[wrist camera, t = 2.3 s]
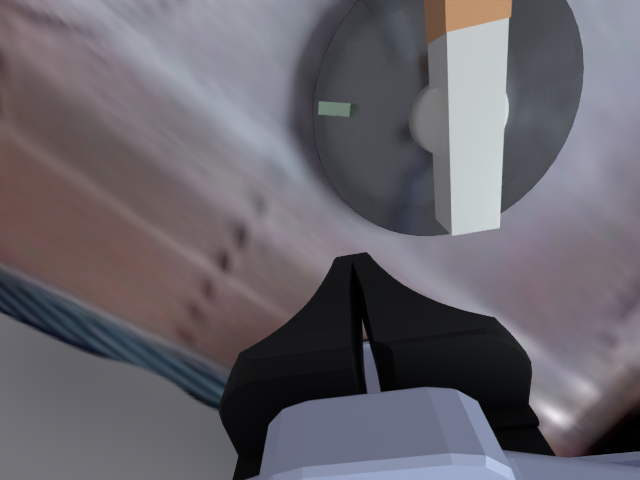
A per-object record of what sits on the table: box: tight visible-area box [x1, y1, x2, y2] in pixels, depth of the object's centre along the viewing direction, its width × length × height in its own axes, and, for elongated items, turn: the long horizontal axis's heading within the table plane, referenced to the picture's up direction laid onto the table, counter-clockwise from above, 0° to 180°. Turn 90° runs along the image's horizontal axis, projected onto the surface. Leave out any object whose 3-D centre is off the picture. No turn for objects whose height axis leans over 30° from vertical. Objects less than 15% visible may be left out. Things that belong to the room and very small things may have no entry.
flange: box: [313, 0, 584, 236], centre depth 18 cm, size 15×15×2 cm
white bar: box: [408, 0, 512, 236], centre depth 15 cm, size 11×4×4 cm, turn 11°
